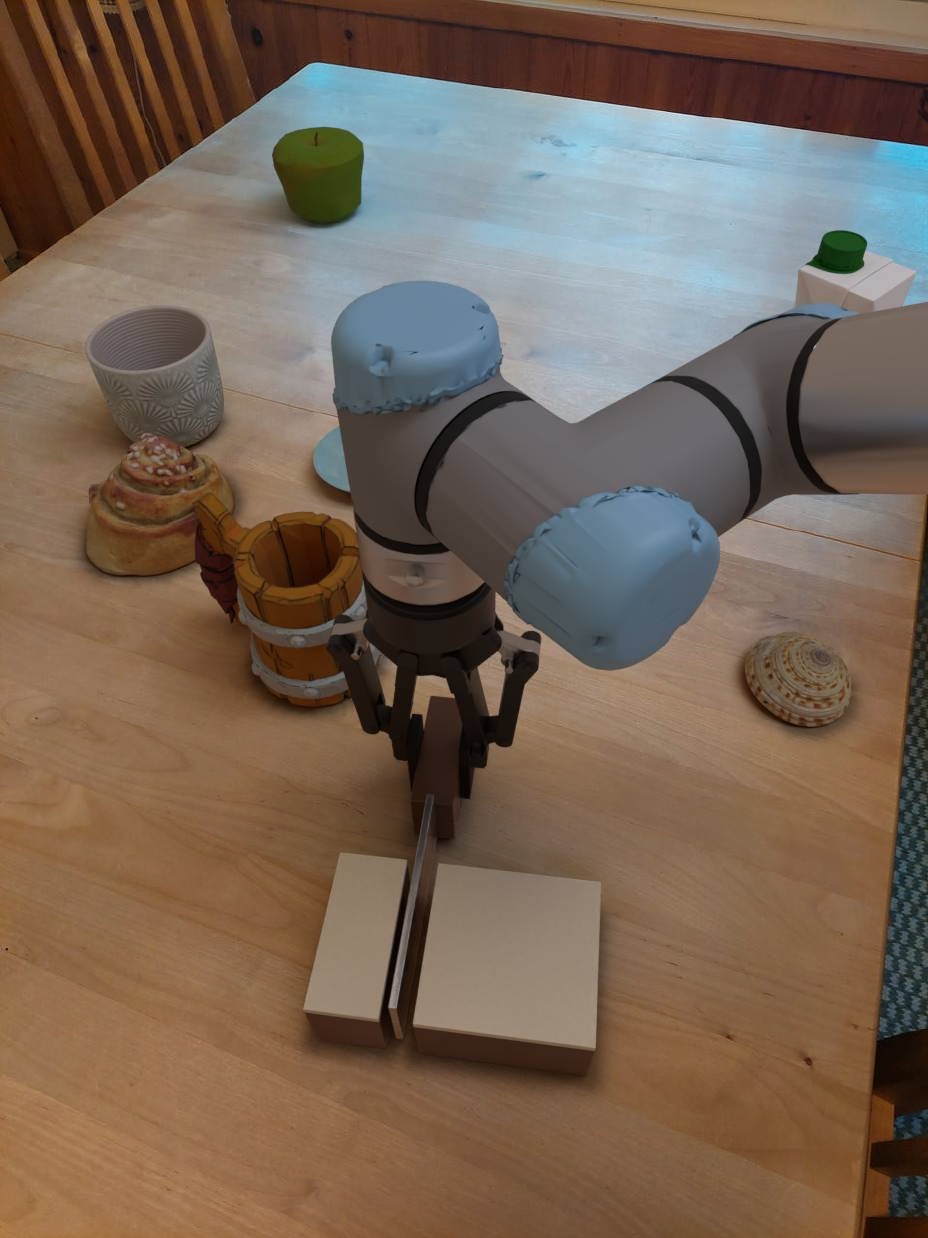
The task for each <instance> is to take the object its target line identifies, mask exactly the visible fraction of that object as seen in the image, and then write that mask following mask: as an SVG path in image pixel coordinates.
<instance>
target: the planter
mask: <svg viewBox="0 0 928 1238" xmlns="http://www.w3.org/2000/svg"><path fill="white" fill-rule="evenodd" d="M211 329H212V328H211V326H210V323H209V321H208V320H207V319H206V318H205V317H204V316H203V315H201V314H200V313H199V312H197V311H195V310H192V309H190V308H186V307H182V306H178V305H170V304H169V305H168V304H167V305H166V304H159V305H158V304H157V305H155V304H154V305H147V306H141V307H135V308H132V309H129V310H125V311H122V312H120V313H118V314H117V313H116V314H115V315H113V316H111V317H109V318H107V319H105V320H104V321H102V322H101V323H100V324H98V325H97V326H96V327H95V328H94V329H93V330H92V331H91V332H90V334H89V335H88V336H87V338H86V341H85V343H84V352H85V353H84V354H85V356H86V358H87V360H88V363H89V366H90V367H91V370H92V373H93V375H94V377H95V380H96V382H97V384H98V386H99V389H100V391H101V393H102V396H103V398H104V401H105V402H106V405H107V407H108V410H109V411H110V412H111V413H110V414H111V415H112V417H113V419H114V421H115V423H116V424H117V426H118V427H119V429H120V430H121V432H122V433H123V434H124V435H125V436H126V438H129V440H130V441H132V442H133V443H135V442H137V441H139V440H140V438H141V436H142V435H143V434H144V433H148V434H152V435H154V436H164V437H166V438H167V439H169V440H170V441H174V442H175V443H176V444H177V445H179V446H182V447H184V448H186V447H188V446H192V445H195V444H196V443H199V442H200V441H202V440H204V439H205V438H207V437H208V436H209V435H211V434H212V433H213V432H214V431H215V429H216V428H217V427H218V426H219V424H220V423H221V421H222V418H223V415H224V409H225V397H224V389H223V382H222V376H221V371H220V367H219V366H220V365H219V361H218V357H217V352H216V347H215V344H214V338H213V335H212V330H211Z"/></svg>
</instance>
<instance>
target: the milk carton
mask: <svg viewBox="0 0 928 1238" xmlns="http://www.w3.org/2000/svg"><path fill="white" fill-rule="evenodd" d="M867 248H868V240H867V239H866V238H865V236H863V235H861V234H859V233H857V232H855V231H850V230H844V229H842V230H841V229H836V230H830V231H827V232H826V233H824V234H823V236H822V238H821V241H820V244H819V247H818V249H817V253H816V254H815V255H814V256H813V257H812V259H811V260H810V261H807V262H806V263H805V264H804V266H802V267H800V268H799V269H798V270H797V280H796V282H797V283H796V291H795V293H796V294H795V301H794V305H793V308H795V307H798V306H801V305H805V304H810V303H830V304H834V305H835V306H839V307H842V308H844V309H846V310H849V311H853V312H856V313H858V314H863V313H868V312H874V311H879V310H885V309H890V308H896V307H901V306H904V304H905V301H906V300H907V296H908V295H909V292H910V289H911V287H912V284H913V282H914V280H915V277H916V275H917V274H918V271H917V270H914V269H912V268H909V267H907V266H904V265H902V264H900V263H896V262H894V260H893V259H892V258H889V257H888V256H887V257H886V256H884V255H879V254H877V253H874V252H871V251H869V250H867Z"/></svg>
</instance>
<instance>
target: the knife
mask: <svg viewBox="0 0 928 1238" xmlns="http://www.w3.org/2000/svg"><path fill="white" fill-rule="evenodd" d="M462 725H463V724H462V721H461V717H460V714H459V710H458V707H457V704H456V700H455V697H449V696H440V695H439V696H438V695H430V696H429V701H428V707H427V712H426V716H425V721H424V725H423V727H424V732H423V737H422V743H421V748H420V753H419V758H418V762H417V768H416V773H415V778H414V783H413V788H412V793H411V792H410V798H409V802H410V810H411V811H410V812H411V820H412V828H413V834H414V835H416V836H418V842H417V846H416V847H417V848H416V853H415V857H414V864H413V869H412V875H411V878H410V882H411V885H410V890H409V896H408V901H407V907H406V912H405V918H404V923H403V929H402V934H401V940H400V945H399V951H398V956H397V962H396V967H395V973H394V978H393V984H392V989H391V995H390V1000H389V1006H388V1008H389V1012H390V1016H391V1020H392V1021H391V1025H392V1029H393V1032H394V1036H395V1039H397V1040H404V1039H405V1033H406V1027H407V1020H408V1015H409V1010H410V1009H409V1008H410V1002H411V997H412V991H413V985H414V978H415V973H416V968H417V961H418V955H419V949H420V944H421V937H422V932H423V925H424V919H425V913H426V907H427V901H428V896H429V889H430V884H431V878H432V872H433V866H434V862H435V861H434V860H435V854H436V849H437V848H436V847H437V843H438V838H440V839H441V838H442V839H451V840H455V838H456V833H457V828H458V821H459V814H460V807H461V801H462V798H460V772H459V754H458V750H459V744H460V737H461V731H462Z"/></svg>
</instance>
